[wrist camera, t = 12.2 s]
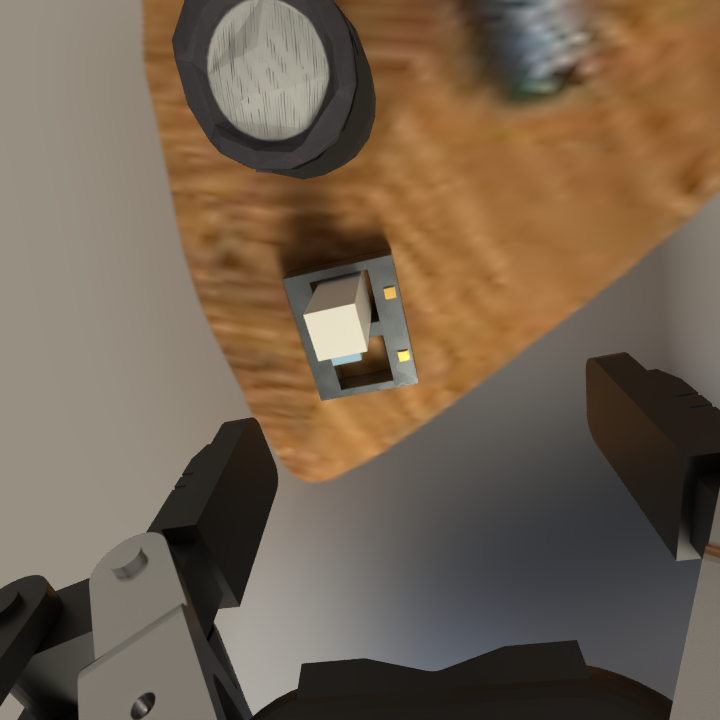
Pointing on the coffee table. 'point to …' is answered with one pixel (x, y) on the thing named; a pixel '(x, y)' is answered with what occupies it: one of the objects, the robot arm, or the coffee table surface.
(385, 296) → the panel
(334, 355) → the plug
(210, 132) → the portable speaker
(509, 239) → the coffee table surface
